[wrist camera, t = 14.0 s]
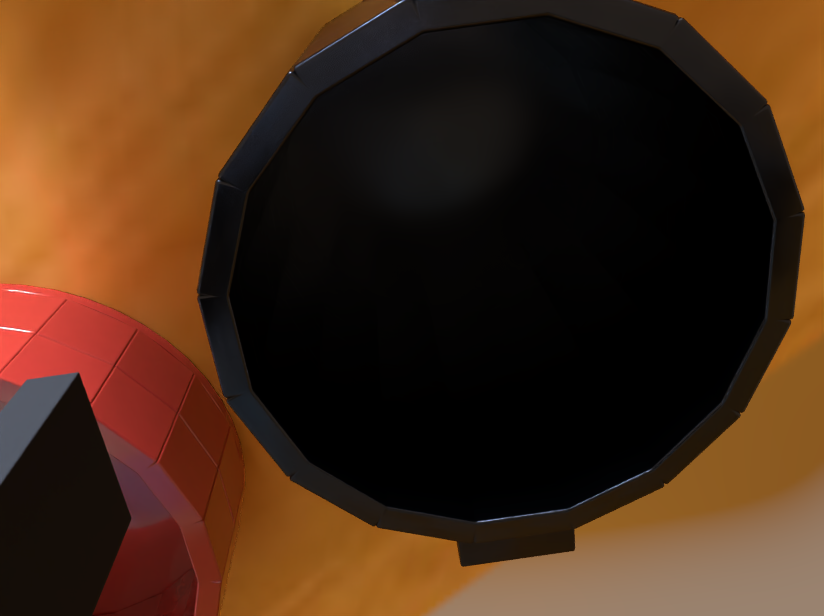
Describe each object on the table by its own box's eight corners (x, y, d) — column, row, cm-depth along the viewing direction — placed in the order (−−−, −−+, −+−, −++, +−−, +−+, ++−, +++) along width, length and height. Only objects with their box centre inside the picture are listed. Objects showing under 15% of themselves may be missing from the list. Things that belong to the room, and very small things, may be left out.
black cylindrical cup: (313, 369, 27) (284, 626, 17) (227, -52, 21) (92, -85, 11) (605, 328, 28) (768, 557, 17) (601, -102, 22) (851, -186, 11)
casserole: (-82, 643, 32) (-174, 781, 26) (-270, 316, 25) (-444, 410, 20) (280, 591, 32) (264, 718, 26) (190, 253, 25) (143, 329, 20)
